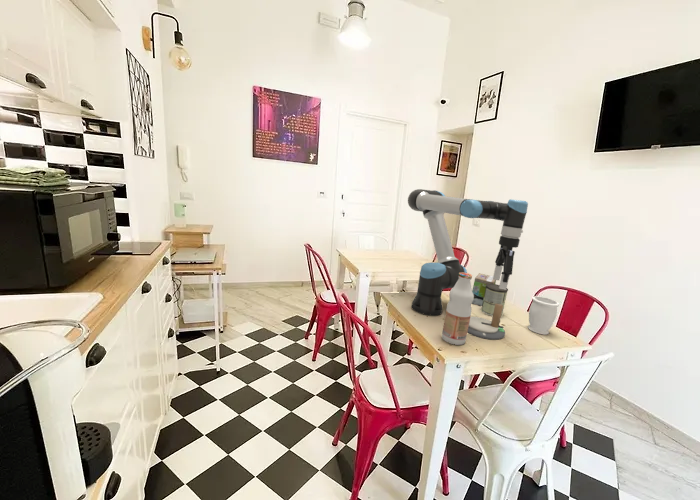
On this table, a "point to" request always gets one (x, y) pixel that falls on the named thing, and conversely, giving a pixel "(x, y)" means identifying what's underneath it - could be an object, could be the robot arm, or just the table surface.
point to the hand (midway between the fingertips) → (499, 284)
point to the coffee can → (493, 298)
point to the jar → (542, 314)
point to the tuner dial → (487, 321)
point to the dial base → (488, 334)
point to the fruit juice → (458, 311)
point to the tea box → (481, 287)
